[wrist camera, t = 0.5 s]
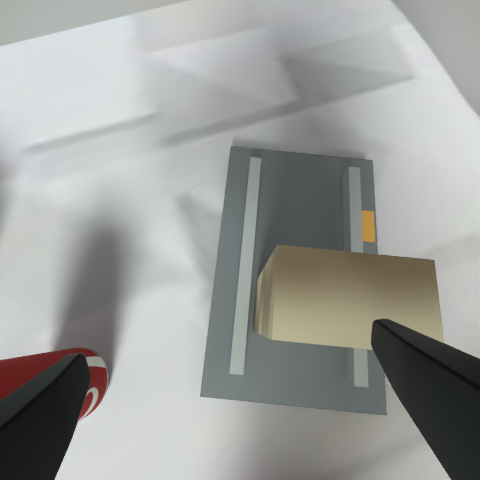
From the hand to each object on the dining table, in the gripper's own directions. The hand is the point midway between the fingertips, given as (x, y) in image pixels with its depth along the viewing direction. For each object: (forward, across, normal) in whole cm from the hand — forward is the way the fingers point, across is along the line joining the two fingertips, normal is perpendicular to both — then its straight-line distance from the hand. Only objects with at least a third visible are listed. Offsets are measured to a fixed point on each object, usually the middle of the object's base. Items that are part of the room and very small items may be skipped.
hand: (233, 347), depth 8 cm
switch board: (+15, -6, +5) cm, 17 cm away
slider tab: (+12, -5, +7) cm, 15 cm away
